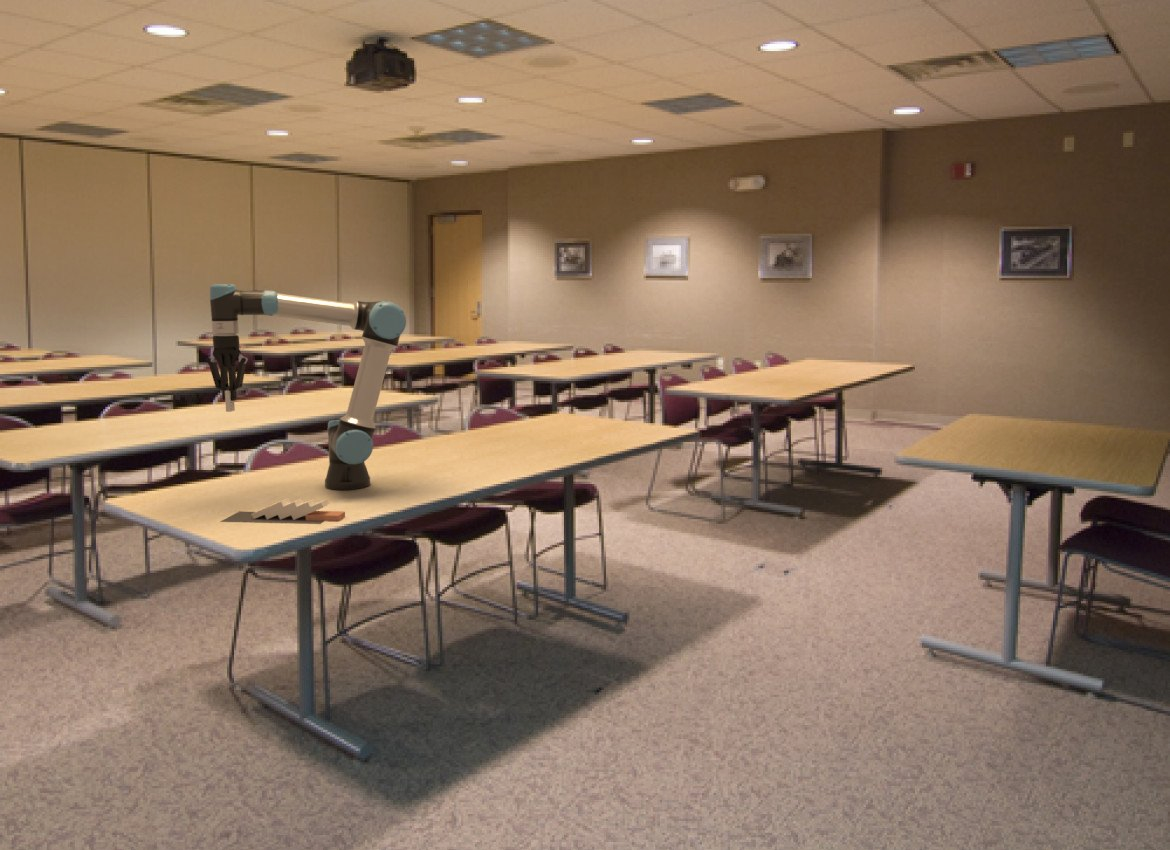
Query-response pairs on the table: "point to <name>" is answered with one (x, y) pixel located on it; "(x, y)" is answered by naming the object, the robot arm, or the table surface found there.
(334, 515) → the domino
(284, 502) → the domino
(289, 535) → the table surface
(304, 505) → the domino
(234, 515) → the mat
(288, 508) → the domino
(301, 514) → the domino
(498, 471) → the table surface
